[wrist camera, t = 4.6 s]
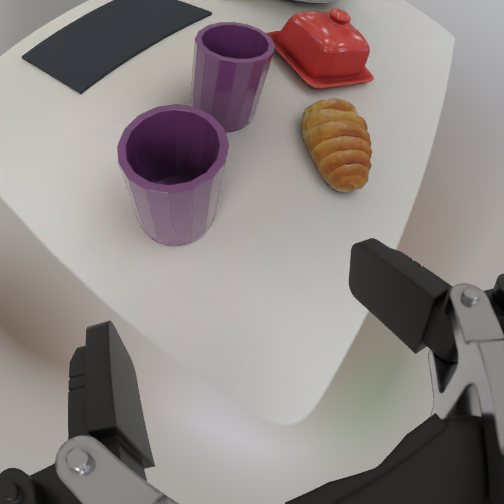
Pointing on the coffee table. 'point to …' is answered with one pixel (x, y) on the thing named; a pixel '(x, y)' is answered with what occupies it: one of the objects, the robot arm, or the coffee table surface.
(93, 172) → the coffee table surface
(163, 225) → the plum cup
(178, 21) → the mat
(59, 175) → the coffee table surface
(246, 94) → the plum cup side
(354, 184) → the pastry
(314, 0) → the ramen bowl
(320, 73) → the butter dish
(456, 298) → the robot arm
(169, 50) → the coffee table surface
